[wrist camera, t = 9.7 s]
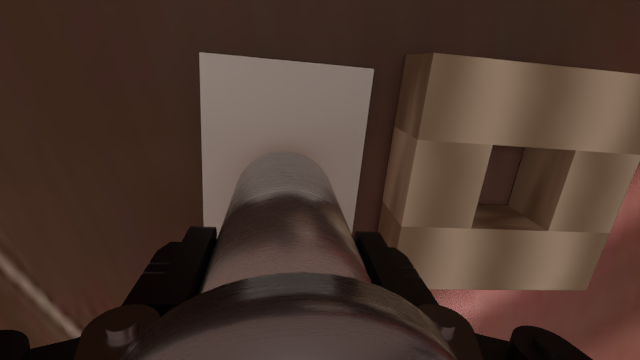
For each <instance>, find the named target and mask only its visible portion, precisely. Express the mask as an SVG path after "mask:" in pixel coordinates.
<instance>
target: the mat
mask: <svg viewBox="0 0 640 360" xmlns="http://www.w3.org/2000/svg"><path fill="white" fill-rule="evenodd" d="M199 59H200V99H201V138H202V178H203V218H204V227H216V229H217V238H218V235H219V232H220V229H221V227H222V224H223V221H224V218H225V215H226V212H227V210H228V207H229V204H230V201H231V198H232V196H233V193H234V190H235V187H236V184H237V182H238V179H239V177H240V176H241V174H242V172H243V171H244V170H245V168H246V167H247V166H248V165H249V164H251V163H252V162H253V161H255V160H256V159H258V158H260V157H261V156H264V155H266V154H270V153H273V152H294V153H298V154H301V155H304V156H306V157H308V158H310V159H312V160H313V161H315V162H316V163H317V164H318V165H319V166H320V167H321V168H322V169H323V170H324V172H325V173H326V175H327V177H328V179H329V181H330V183H331V186H332V188H333V191H334V193H335V195H336V198H337V200H338V203H339V205H340V207H341V210H342V212H343V215H344V217H345V219H346V222H347V224H348V227H349V229H350V232H351V234H352V230H353V222H354V215H355V208H356V200H357V193H358V185H359V178H360V170H361V163H362V155H363V148H364V141H365V133H366V126H367V118H368V111H369V103H370V96H371V89H372V81H373V74H374V69H370V68H359V67H349V66H338V65H328V64H317V63H307V62H296V61H286V60H275V59H265V58H254V57H244V56H233V55H223V54H212V53H202V52H199Z"/></svg>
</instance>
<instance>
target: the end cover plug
mask: <svg viewBox="0 0 640 360" xmlns="http://www.w3.org/2000/svg"><path fill="white" fill-rule="evenodd" d="M120 360H458V359H457V358H456V356H455V354H454V353H453V351H452V349H451V348H450V346H449V344H448V342H447V341H446V339H445V337H444V336H443V334H442V333H441V332H440V330H439V329H438V328H437V327H436V325H435V324H434V323H433V322H432V320H431V319H430V318H428V317H427V316H426V315H425V314H424V313H423V312H422V311H421V310H420V309H419V308H417V307H416V306H415V305H413V304H412V303H410V302H409V301H407V300H405V299H404V298H402V297H401V296H399V295H397V294H395V293H393V292H391V291H389V290H387V289H385V288H382V287H380V286H378V285H375V284H372V282H371V280H370V277H369V275H368V272H367V270H366V268H365V265H364V263H363V260H362V258H361V256H360V253H359V251H358V248H357V246H356V244H355V241H354V239H353V236H352V234H351V232H350V229H349V227H348V224H347V222H346V219H345V217H344V215H343V212H342V210H341V207H340V205H339V203H338V200H337V198H336V195H335V193H334V191H333V188H332V186H331V183H330V181H329V179H328V177H327V175H326V173H325V172H324V170H323V169H322V168H321V167H320V166H319V165H318V164H317V163H316V162H315V161H313V160H312V159H310V158H308V157H306V156H304V155H301V154H298V153H294V152H273V153H270V154H266V155H264V156H261V157H260V158H258V159H256V160H255V161H253V162H252V163H251V164H249V165H248V166H247V167H246V168H245V170H244V171H243V172H242V174H241V176H240V177H239V179H238V182H237V184H236V187H235V190H234V193H233V196H232V198H231V201H230V204H229V207H228V210H227V212H226V215H225V218H224V221H223V224H222V227H221V229H220V232H219V235H218V238H217V241H216V243H215V246H214V249H213V252H212V255H211V258H210V260H209V263H208V266H207V269H206V272H205V274H204V277H203V280H202V283H201V286H200V288H199V291H198V294H197V295H196V296H194V297H192V298H191V299H189V300H187V301H185V302H183V303H181V304H179V305H178V306H176V307H174V308H172V309H171V310H170V311H168V312H167V313H165V314H164V315H163V316H161V317H160V318H158V319H157V320H156V321H154V322H153V323H152V324H151V325H150V326H149V327H148V328H147V329H146V330H144V331H143V332H142V333H141V334H140V335H139V336H138V337H137V338H136V339H135V340H134V342H133V343H132V344H131V345H130V347H129V348H128V349H127V350H126V352H125V353H124V354H123V356H122V357H121V359H120Z"/></svg>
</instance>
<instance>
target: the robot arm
mask: <svg viewBox="0 0 640 360" xmlns="http://www.w3.org/2000/svg"><path fill="white" fill-rule="evenodd" d="M216 241H217V229H216V227H200V226H191V227H190V228H189V229H188V231H187V233H186V235H185V237H184V239H183V240H182V242H170V243H168V244H167V245H165V246H164V247H162V248H161V249H159V250H158V251H157V252H156V253H155V255H154V256H153V258H152V259H151V261H150V264H148V266H147V267H146V269H145V270H144V273H143V274H142V275H141V276H140V278H139V279H138V281H137V283H136V284H135V286H134V287H133V289H132V290H131V292H130V293H129V295H128V296H127V298H126V299H125V301H124V303H123V304H122V306H120V307H117V308H114V309H111V310H109V311H106V312H104V313H103V314H101V315H99V316H98V317H96V318H95V319H93V320H92V321H91V322H90V323H89V324H88V325H87V326H86V327H85V329H84V330H83V332H82V334H81V336H80V337H78V338H75V339H71V340H68V341H63V342H59V343H55V344H50V345H46V346H42V347H37V348H33V349H30V344H29V340H28V337H27V336H26V335H25V334H24V333H22V332H19V331H15V330H0V360H120V359H121V357H122V356H123V354H124V353H125V352H126V350H127V349H128V348H129V347H130V345H131V344H132V343H133V342H134V340H135V339H136V338H137V337H138V336H139V335H140V334H141V333H142V332H143V331H144V330H146V329H147V328H148V327H149V326H150V325H151V324H152V323H153V322H154V321H156V320H157V319H158V318H160V317H161V316H163V315H164V314H165V313H167V312H168V311H170V310H171V309H172V308H174V307H176V306H178V305H179V304H181V303H183V302H185V301H187V300H189V299H191V298H192V297H194V296H196V295H197V294H198V291H199V288H200V286H201V283H202V280H203V277H204V274H205V272H206V269H207V266H208V263H209V260H210V258H211V255H212V252H213V249H214V246H215V243H216ZM354 241H355V244H356V246H357V248H358V251H359V253H360V256H361V258H362V260H363V263H364V265H365V268H366V270H367V272H368V275H369V277H370V280H371V282H372V284H375V285H378V286H380V287H382V288H385V289H387V290H389V291H391V292H393V293H395V294H397V295H399V296H401V297H402V298H404V299H405V300H407V301H409V302H410V303H412V304H413V305H415V306H416V307H417V308H419V309H420V310H421V311H422V312H423V313H424V314H425V315H426V316H427V317H428V318H430V319H431V320H432V322H433V323H434V324H435V325H436V327H437V328H438V329H439V330H440V332H441V333H442V334H443V336H444V337H445V339H446V341H447V342H448V344H449V346H450V348H451V349H452V351H453V353H454V354H455V356H456V358H457V359H458V360H593V359H591V358H590V357H588V356H587V355H586V354H584V353H583V352H582V351H580V350H579V349H577V348H576V347H575V346H573V345H572V344H570V343H569V342H568V341H566V340H565V339H563V338H562V337H560V336H558V335H556V334H554V333H552V332H550V331H548V330H545V329H542V328H539V327H534V326H520V327H517V328H515V329H514V330H513V332H512V335H511V338H510V341H505V340H501V339H496V338H492V337H488V336H483V335H480V334H476V333H474V330H473V328H472V326H471V325H470V323H469V322H468V321H467V320H466V319H465V318H464V317H463V316H461V315H460V314H458V313H457V312H455V311H453V310H451V309H449V308H447V307H444V306H440V305H439V304H438V303H437V301H436V300H435V298H434V297H433V295H432V294H431V292H430V291H429V289H428V288H427V286H426V284H425V283H424V281H423V280H422V278H421V277H419V274H418V272H417V271H416V269H414V266H413V265H412V263H411V262H410V260H409V258H408V257H407V256H406V255H405V254H403V253H402V252H401V251H399V250H398V249H397V248H395V247H388V246H387V244H386V242H385V241H384V239H383V237H382V235H381V234H380V233H379V232H362V231H357V232H356V233H355V235H354Z"/></svg>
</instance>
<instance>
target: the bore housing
mask: <svg viewBox="0 0 640 360" xmlns="http://www.w3.org/2000/svg"><path fill="white" fill-rule="evenodd" d="M493 145H502V146H517V147H525V148H524V152H523V155H522V159H521V162H520V165H519V169H518V172H517V176H516V179H515V182H514V186H513V189H512V193H511V196H510V199H509V203H508V205H484V204H478V200H479V196H480V192H481V189H482V185H483V181H484V177H485V173H486V169H487V166H488V162H489V158H490V154H491V150H492V146H493ZM639 161H640V74H632V73H623V72H613V71H603V70H594V69H584V68H575V67H565V66H556V65H546V64H536V63H527V62H517V61H508V60H498V59H489V58H479V57H469V56H460V55H450V54H441V53H422V54H406V56H405V62H404V68H403V75H402V81H401V87H400V93H399V99H398V106H397V112H396V118H395V124H394V130H393V137H392V143H391V149H390V155H389V161H388V168H387V174H386V180H385V186H384V192H383V199H382V205H381V211H380V217H379V223H378V230H377V232H379V233H380V234H381V235H382V237H383V239H384V241H385V242H386V244H387V246H388V247H395V248H397V249H398V250H399V251H401V252H402V253H403V254H405V255H406V256H407V257H408V258H409V260H410V262H411V263H412V265H413V266H414V269H416V271H417V272H418V274H419V277H421V278H422V280H423V281H424V283H425V284H426V286H427V288H428V289H461V290H587V287H588V285H589V282H590V280H591V277H592V275H593V273H594V270H595V268H596V265H597V263H598V260H599V258H600V256H601V253H602V251H603V248H604V246H605V243H606V241H607V239H608V236H609V234H610V231H611V229H612V227H613V224H614V222H615V219H616V217H617V214H618V212H619V210H620V207H621V205H622V202H623V200H624V197H625V195H626V193H627V190H628V188H629V185H630V183H631V180H632V178H633V176H634V173H635V171H636V168H637V166H638V163H639Z"/></svg>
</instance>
